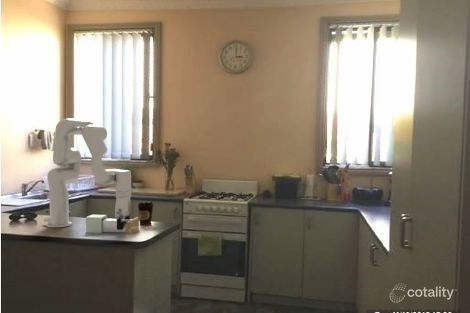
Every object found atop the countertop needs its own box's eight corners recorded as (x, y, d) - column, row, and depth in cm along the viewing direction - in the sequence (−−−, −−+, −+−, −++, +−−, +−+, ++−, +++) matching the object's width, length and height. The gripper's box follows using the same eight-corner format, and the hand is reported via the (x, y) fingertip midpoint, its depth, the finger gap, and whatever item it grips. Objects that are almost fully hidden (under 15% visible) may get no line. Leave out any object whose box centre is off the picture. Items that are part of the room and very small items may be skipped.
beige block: (125, 234, 211) (125, 220, 211) (131, 230, 220) (131, 216, 220) (132, 234, 210) (132, 220, 210) (139, 230, 219) (138, 217, 219)
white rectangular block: (99, 231, 215) (99, 220, 215) (103, 229, 219) (103, 218, 219) (131, 232, 213) (131, 220, 213) (134, 230, 217) (134, 219, 217)
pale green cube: (86, 232, 214) (86, 217, 214) (92, 229, 221) (92, 214, 221) (101, 232, 213) (101, 217, 213) (107, 229, 220) (106, 214, 220)
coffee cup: (149, 227, 228) (149, 203, 227) (135, 226, 229) (135, 202, 229) (155, 223, 236) (155, 200, 236) (141, 223, 238) (141, 200, 237)
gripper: (122, 191, 224) (123, 223, 225) (109, 196, 207) (109, 230, 207) (136, 192, 223) (136, 224, 224) (124, 196, 206) (124, 231, 207)
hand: (123, 227), depth 216 cm, fingers open, 9 cm apart
